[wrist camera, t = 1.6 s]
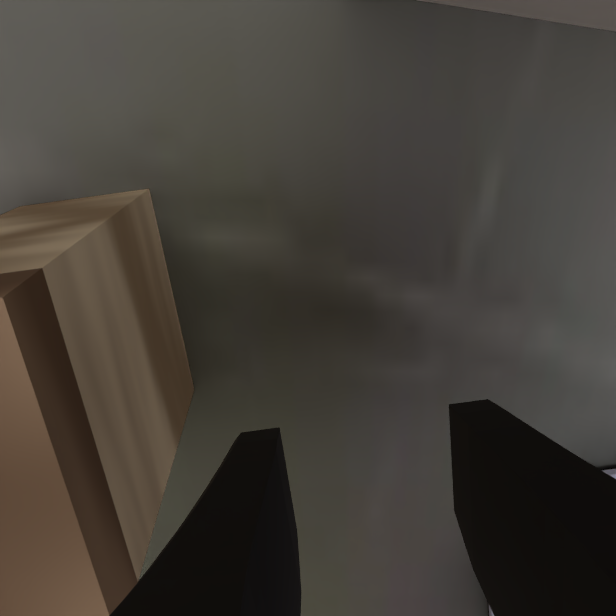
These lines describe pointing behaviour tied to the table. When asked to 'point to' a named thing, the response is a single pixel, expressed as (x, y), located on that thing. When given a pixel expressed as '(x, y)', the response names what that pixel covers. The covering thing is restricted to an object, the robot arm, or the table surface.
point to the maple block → (84, 400)
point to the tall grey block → (548, 10)
